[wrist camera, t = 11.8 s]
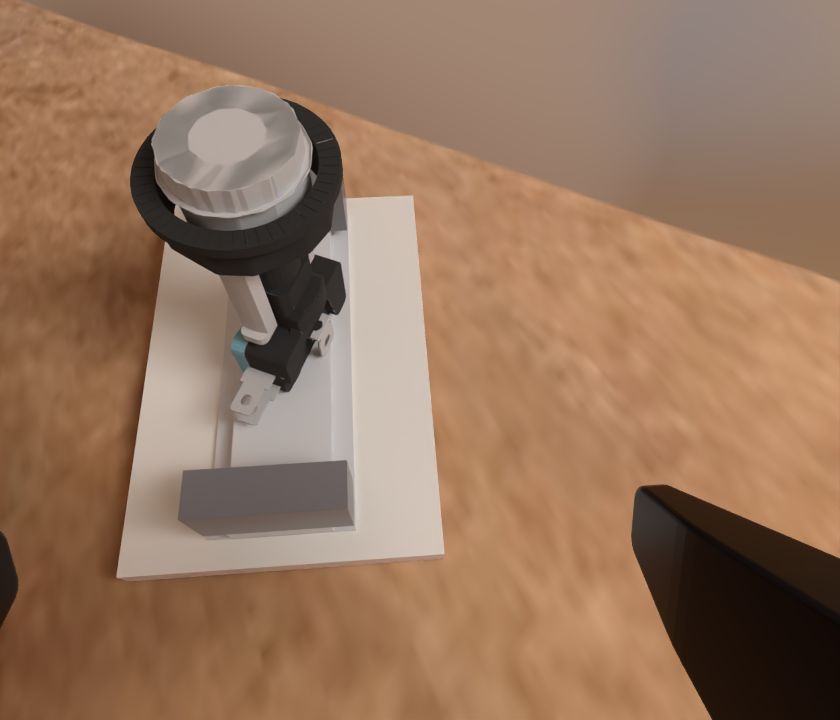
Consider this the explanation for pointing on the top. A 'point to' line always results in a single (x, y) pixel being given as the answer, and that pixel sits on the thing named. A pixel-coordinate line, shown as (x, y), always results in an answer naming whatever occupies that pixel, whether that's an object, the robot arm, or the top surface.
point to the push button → (251, 222)
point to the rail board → (289, 424)
